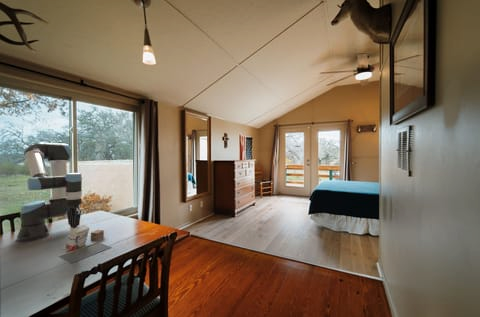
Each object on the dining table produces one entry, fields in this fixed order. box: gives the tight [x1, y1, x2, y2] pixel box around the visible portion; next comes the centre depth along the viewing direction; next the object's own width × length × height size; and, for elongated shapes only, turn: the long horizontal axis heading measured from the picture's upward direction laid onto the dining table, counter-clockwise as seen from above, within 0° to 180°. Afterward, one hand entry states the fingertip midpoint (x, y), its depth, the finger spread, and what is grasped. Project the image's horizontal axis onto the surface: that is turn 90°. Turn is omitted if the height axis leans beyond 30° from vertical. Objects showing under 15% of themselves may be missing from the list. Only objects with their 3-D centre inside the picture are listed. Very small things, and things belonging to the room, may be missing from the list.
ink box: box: [65, 224, 90, 251], centre depth 120 cm, size 9×5×12 cm, turn 168°
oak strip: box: [61, 241, 98, 256], centre depth 118 cm, size 1×18×1 cm, turn 153°
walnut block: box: [90, 229, 105, 242], centre depth 133 cm, size 5×5×5 cm
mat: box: [58, 241, 112, 264], centre depth 115 cm, size 14×20×1 cm
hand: (73, 236), depth 122 cm, fingers closed
